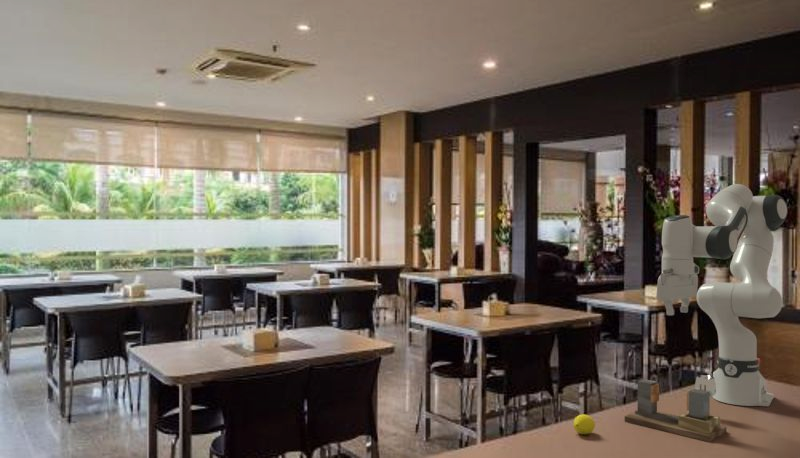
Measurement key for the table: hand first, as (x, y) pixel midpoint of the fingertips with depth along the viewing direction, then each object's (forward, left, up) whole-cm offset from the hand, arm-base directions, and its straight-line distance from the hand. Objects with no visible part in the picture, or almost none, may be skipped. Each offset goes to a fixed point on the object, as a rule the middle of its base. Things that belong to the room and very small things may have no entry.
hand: (677, 313), depth 189 cm
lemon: (+36, -10, -31) cm, 49 cm away
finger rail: (+11, +4, -31) cm, 33 cm away
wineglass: (-6, +6, -31) cm, 32 cm away
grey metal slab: (+11, +11, -29) cm, 32 cm away
